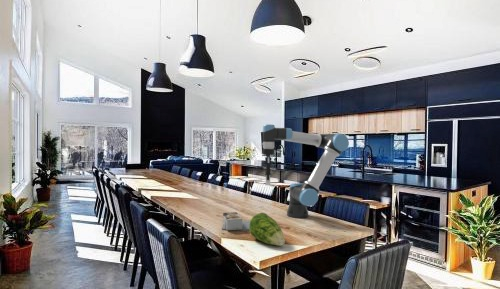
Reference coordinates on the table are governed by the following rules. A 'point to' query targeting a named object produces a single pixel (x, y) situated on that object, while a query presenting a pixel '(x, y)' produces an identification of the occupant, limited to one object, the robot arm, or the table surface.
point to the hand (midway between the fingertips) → (267, 184)
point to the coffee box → (232, 221)
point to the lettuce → (266, 229)
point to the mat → (244, 226)
